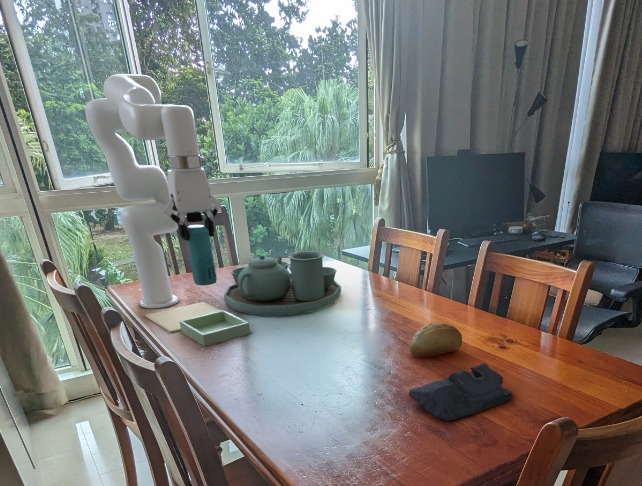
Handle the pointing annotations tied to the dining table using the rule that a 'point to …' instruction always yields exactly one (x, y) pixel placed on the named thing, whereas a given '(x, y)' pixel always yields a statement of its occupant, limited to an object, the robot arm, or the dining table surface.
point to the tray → (214, 327)
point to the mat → (180, 315)
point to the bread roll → (435, 340)
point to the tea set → (283, 285)
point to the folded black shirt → (462, 393)
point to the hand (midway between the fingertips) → (197, 237)
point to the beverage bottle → (200, 251)
